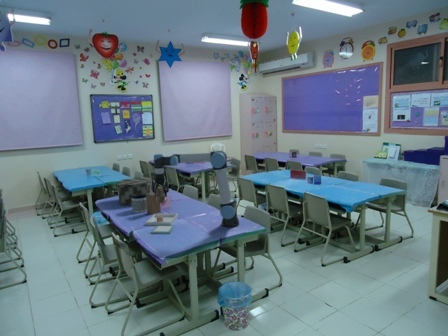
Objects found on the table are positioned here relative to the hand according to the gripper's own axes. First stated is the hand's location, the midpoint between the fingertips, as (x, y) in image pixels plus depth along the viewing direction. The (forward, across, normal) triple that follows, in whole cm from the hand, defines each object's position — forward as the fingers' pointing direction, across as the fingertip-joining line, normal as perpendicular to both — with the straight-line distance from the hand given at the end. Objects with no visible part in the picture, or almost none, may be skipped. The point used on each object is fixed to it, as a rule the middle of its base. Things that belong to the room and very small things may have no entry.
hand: (161, 200), depth 269 cm
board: (+25, -1, +2) cm, 25 cm away
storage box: (+25, +59, -89) cm, 109 cm away
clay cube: (+24, +7, -13) cm, 28 cm away
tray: (+25, +7, -20) cm, 32 cm away
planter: (+25, +40, -53) cm, 71 cm away
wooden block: (+25, +23, -44) cm, 56 cm away
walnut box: (+1, 0, 0) cm, 1 cm away
